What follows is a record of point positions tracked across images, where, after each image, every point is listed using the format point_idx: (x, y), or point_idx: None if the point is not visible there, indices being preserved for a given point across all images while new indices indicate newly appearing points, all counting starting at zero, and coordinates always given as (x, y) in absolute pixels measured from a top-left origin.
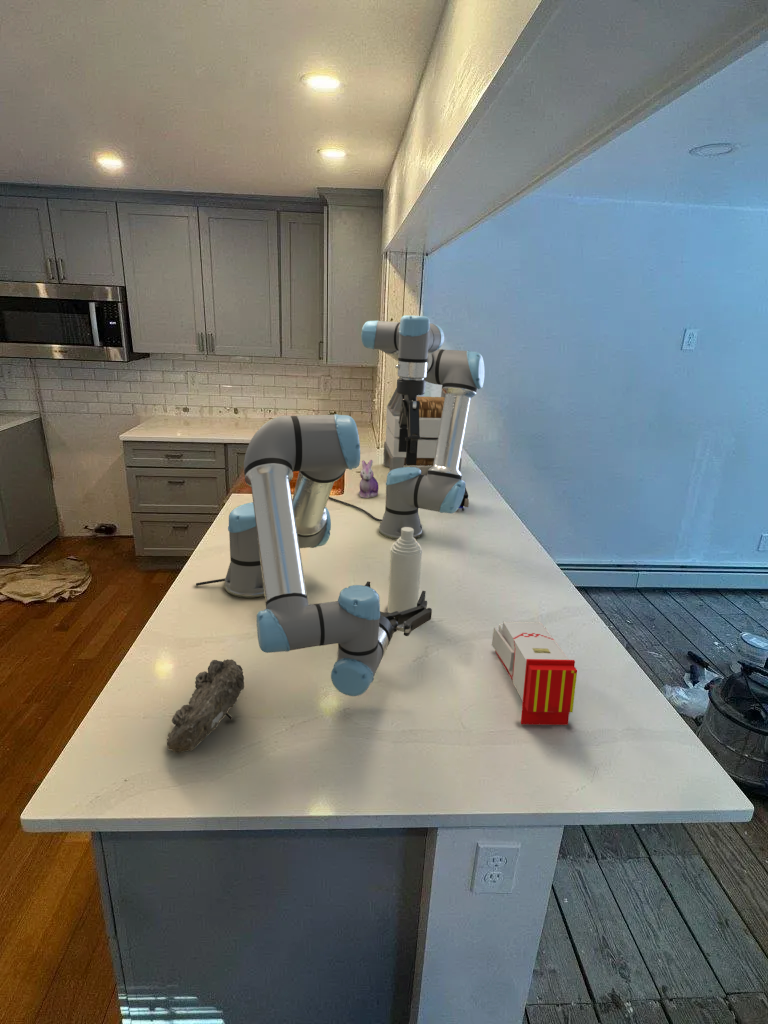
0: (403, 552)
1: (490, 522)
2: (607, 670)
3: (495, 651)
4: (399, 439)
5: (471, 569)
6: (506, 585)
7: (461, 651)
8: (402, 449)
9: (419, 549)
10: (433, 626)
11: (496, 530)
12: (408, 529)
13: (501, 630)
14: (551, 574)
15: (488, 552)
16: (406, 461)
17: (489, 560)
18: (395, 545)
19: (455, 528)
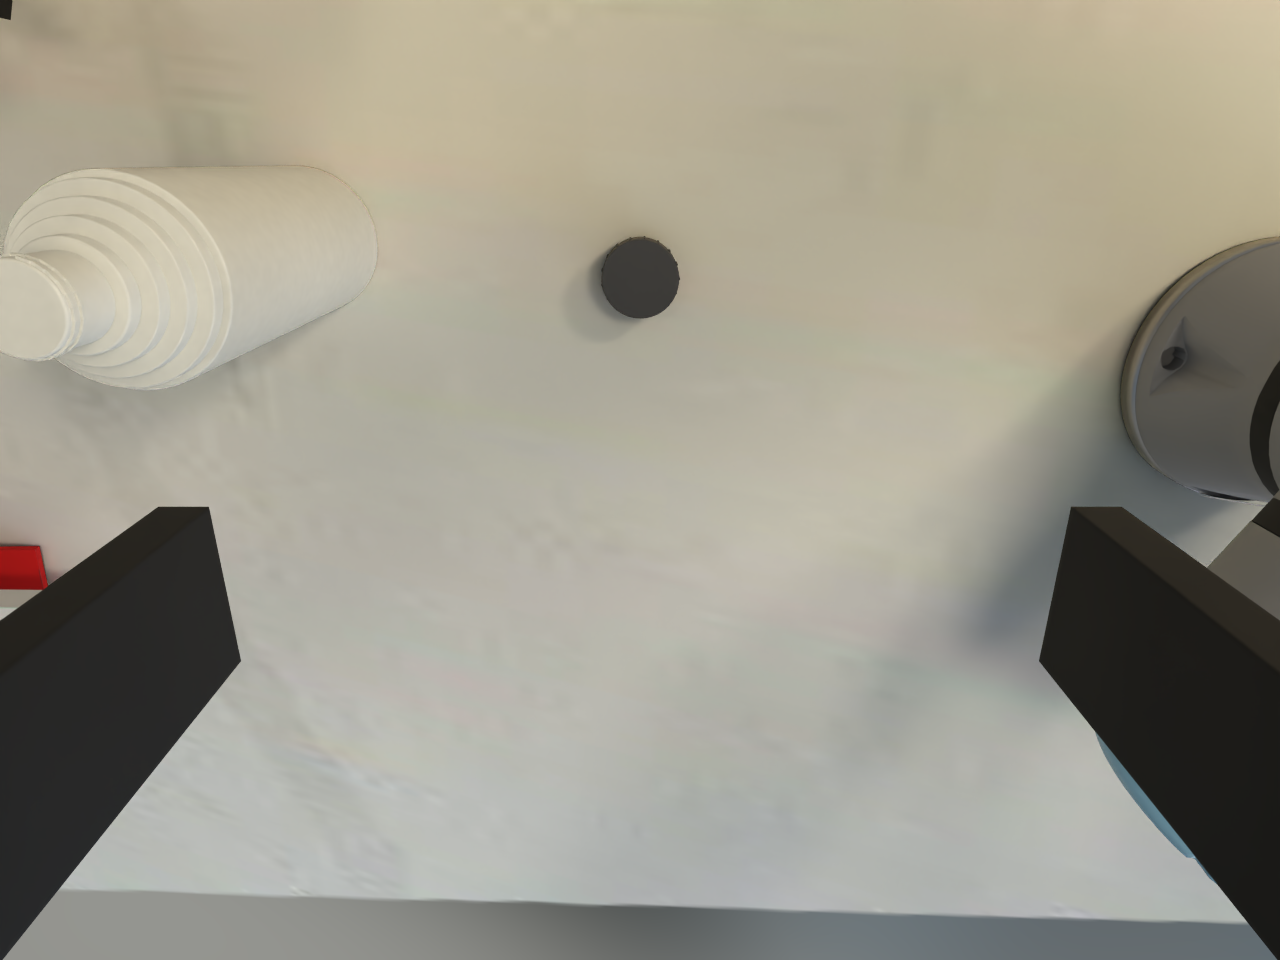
0: (4, 250)
1: None
2: None
3: (32, 547)
4: (1233, 639)
5: (724, 626)
6: (566, 719)
7: (23, 429)
8: (1082, 591)
9: (73, 370)
10: None
11: (1142, 832)
12: (7, 317)
13: (16, 602)
14: (660, 893)
15: (896, 737)
16: (122, 535)
17: (811, 720)
18: (49, 200)
19: None
